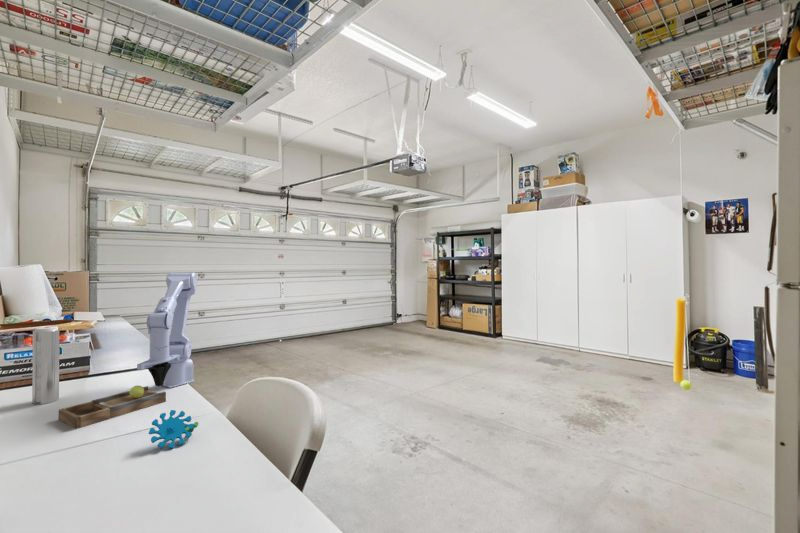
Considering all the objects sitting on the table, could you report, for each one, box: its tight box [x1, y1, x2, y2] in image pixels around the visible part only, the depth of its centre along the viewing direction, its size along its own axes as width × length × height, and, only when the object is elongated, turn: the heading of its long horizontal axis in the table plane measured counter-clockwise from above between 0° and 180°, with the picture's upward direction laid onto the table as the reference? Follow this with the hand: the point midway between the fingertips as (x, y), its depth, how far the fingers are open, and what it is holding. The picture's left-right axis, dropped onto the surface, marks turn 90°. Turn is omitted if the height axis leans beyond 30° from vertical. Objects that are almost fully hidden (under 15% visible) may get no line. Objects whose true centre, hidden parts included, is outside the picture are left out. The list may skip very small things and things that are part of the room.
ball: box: [129, 385, 144, 398], centre depth 121 cm, size 4×4×4 cm
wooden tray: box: [58, 385, 167, 430], centre depth 115 cm, size 24×12×3 cm, turn 151°
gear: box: [148, 409, 199, 450], centre depth 96 cm, size 11×6×10 cm
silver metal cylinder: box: [31, 325, 60, 406], centre depth 122 cm, size 6×6×25 cm
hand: (159, 385), depth 127 cm, fingers closed
